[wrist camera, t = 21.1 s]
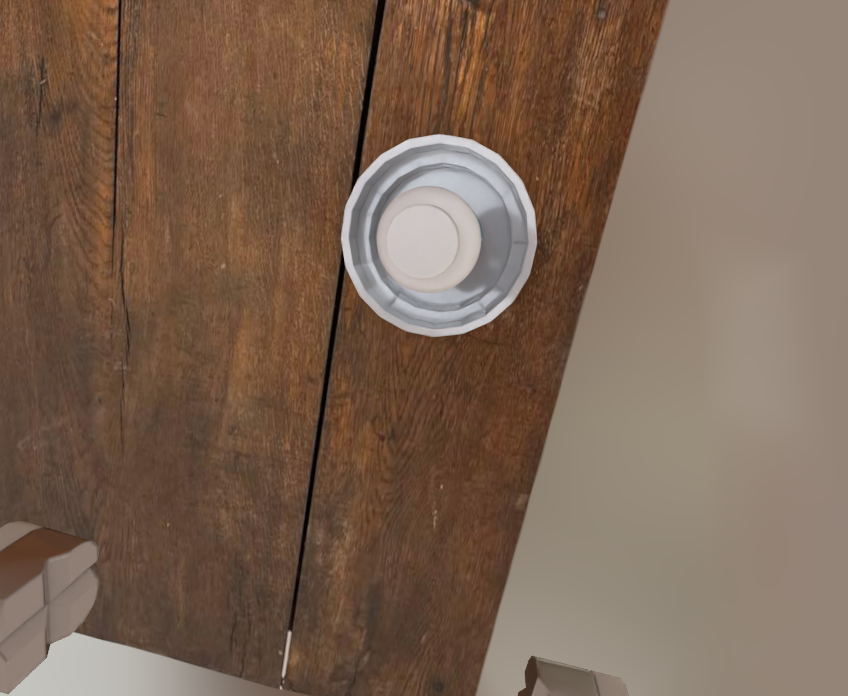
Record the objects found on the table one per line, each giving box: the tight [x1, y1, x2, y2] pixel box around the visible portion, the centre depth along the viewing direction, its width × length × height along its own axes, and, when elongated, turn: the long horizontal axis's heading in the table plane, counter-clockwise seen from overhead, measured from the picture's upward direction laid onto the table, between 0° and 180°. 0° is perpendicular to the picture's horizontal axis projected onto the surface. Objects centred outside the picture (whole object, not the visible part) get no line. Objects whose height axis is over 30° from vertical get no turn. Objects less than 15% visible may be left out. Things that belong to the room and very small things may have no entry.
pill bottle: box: [377, 186, 482, 293], centre depth 36 cm, size 8×7×14 cm
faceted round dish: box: [341, 134, 537, 337], centre depth 40 cm, size 16×16×6 cm
